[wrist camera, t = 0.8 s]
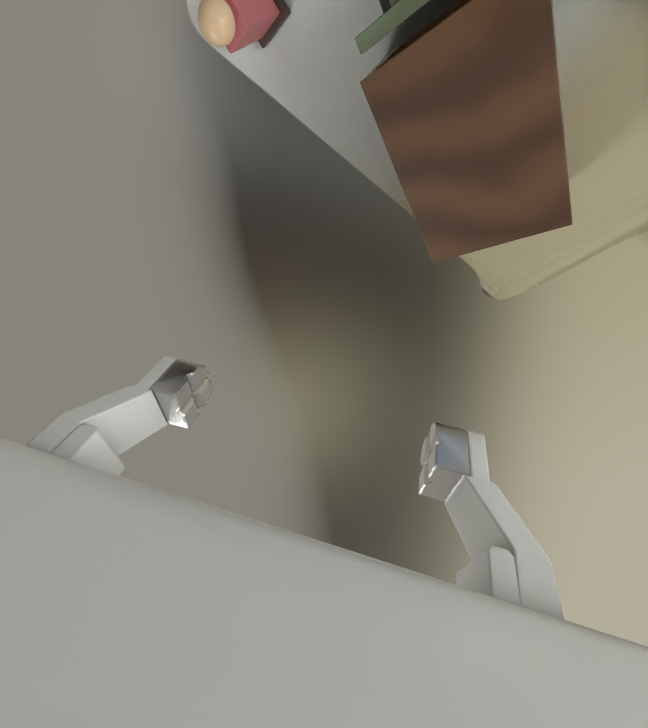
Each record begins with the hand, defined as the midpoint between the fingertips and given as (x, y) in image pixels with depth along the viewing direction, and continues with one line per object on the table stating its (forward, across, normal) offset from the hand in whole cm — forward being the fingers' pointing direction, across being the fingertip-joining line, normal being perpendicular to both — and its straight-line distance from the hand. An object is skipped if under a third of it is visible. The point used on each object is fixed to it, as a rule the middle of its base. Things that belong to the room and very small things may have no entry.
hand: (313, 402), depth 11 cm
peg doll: (+40, +18, -12) cm, 45 cm away
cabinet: (+39, -7, -5) cm, 40 cm away
